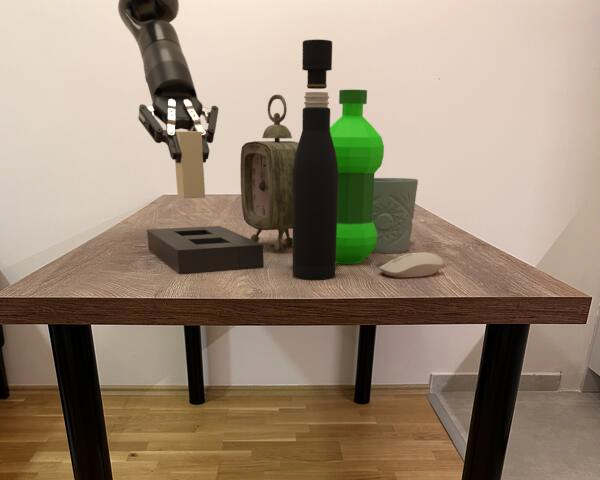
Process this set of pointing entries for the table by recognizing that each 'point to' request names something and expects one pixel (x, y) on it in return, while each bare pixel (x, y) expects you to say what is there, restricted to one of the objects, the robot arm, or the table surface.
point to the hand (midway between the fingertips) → (191, 158)
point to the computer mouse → (413, 265)
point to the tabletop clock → (269, 180)
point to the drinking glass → (393, 213)
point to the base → (204, 249)
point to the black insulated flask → (315, 174)
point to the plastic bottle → (355, 178)
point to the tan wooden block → (190, 165)
